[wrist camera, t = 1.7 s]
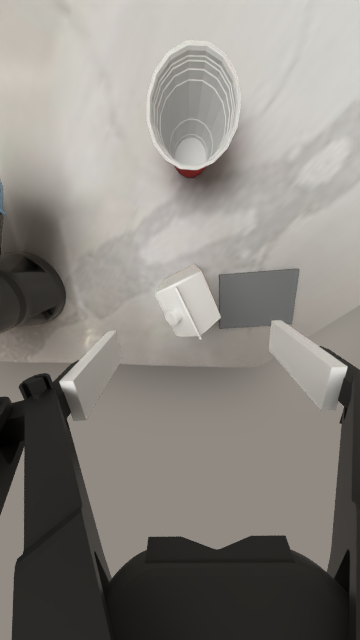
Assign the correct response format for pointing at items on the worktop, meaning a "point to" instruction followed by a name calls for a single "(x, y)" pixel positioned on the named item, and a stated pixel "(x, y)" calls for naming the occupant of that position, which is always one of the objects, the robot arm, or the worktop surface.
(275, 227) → the worktop surface
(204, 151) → the plastic cup
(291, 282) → the gray mat
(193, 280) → the milk carton
